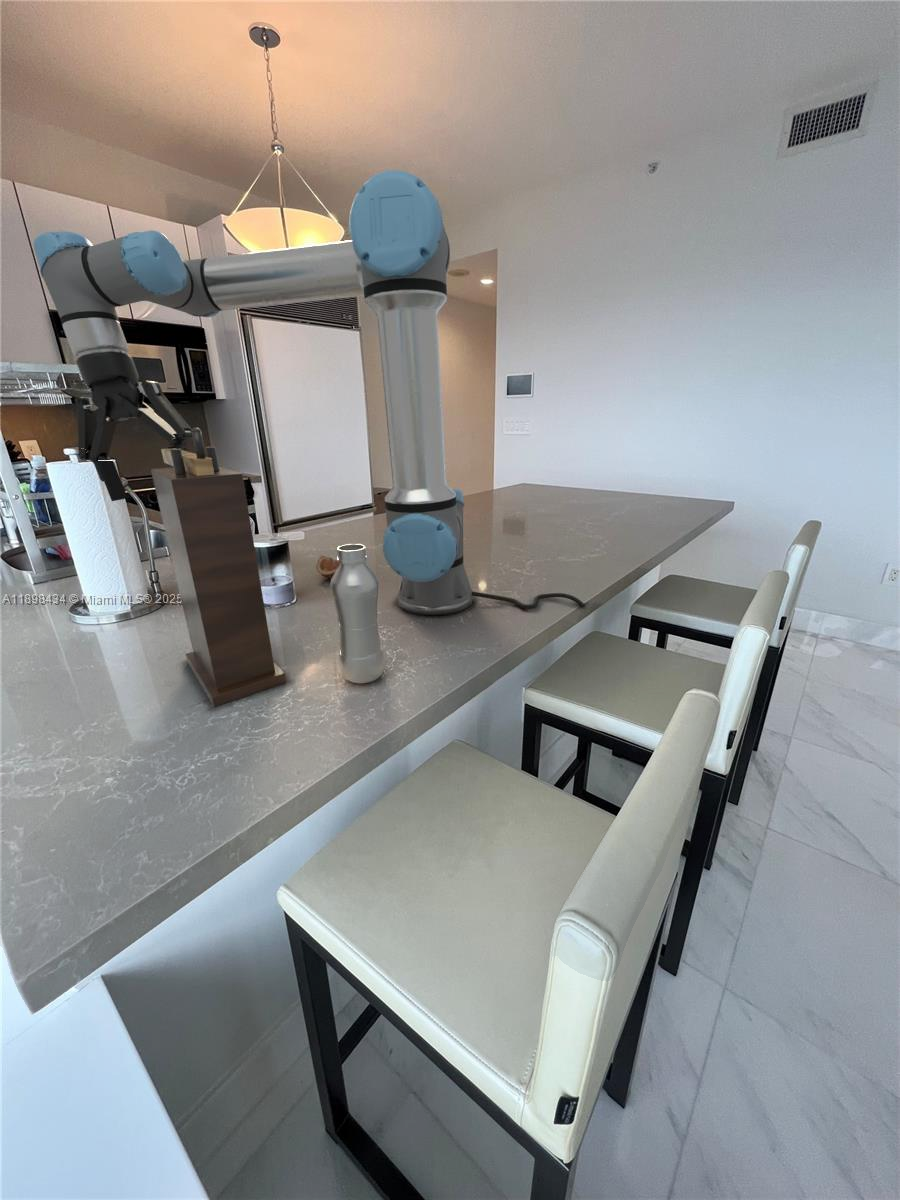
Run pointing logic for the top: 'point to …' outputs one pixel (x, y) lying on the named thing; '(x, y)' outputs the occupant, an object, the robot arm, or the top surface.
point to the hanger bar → (193, 457)
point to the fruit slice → (327, 566)
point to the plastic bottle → (357, 616)
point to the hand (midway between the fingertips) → (154, 493)
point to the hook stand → (217, 579)
